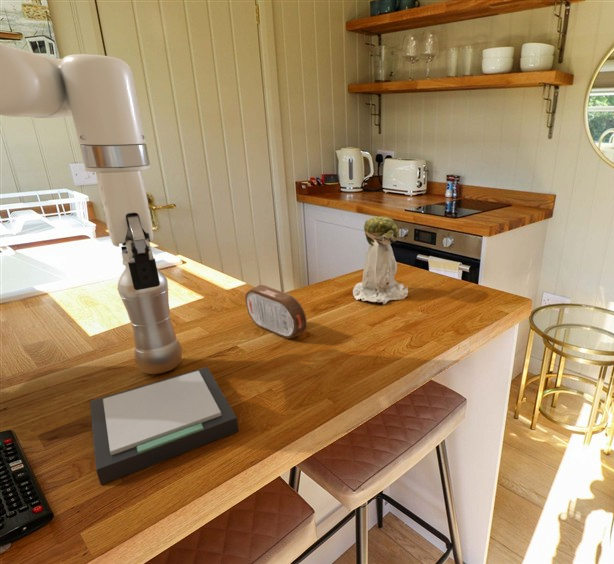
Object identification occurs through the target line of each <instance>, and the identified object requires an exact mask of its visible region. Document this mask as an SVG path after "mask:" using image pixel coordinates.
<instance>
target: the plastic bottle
mask: <svg viewBox="0 0 614 564" xmlns="http://www.w3.org/2000/svg"><path fill="white" fill-rule="evenodd" d="M133 255H134V254H133ZM121 257H122V265H123V266H125V265H126V266H125V269H124V270H123V271H122V273H121V274H120V277H119V279H118V281H117V287H116V288H117V292H118V294H119V296H120V299H121V302H122V303H123V306H124V308H125V311H126V312H127V313H126V314H127V316H128V319H129V321H130V325H131V329H132V336H133V344H134V351H133V352H134V362H135V363H136V365H137V367H138V370H139V371H141V372H142V373H145V374H148V375H159V374H163V373H166V372H170V371H171V370H174V369H175V368H176V367H178V366H179V364H180V363H181V361H182V359H183V347H182V345H181V343H180V340H179V338H178V337H177V333H176V330H175V327H174V325H173V321H172V316H171V309H170V303H169V301H170V300H169V284H168V283H169V282H168V279H167V277H166V275H165V274H164V272H163V271H161V269H159V268H158V267H157V272H158V277H159V281H160V285H159V286H157V287H152V288H146V289H141V290H135V289H134V287H133V282H132V278H131V273H130V269H129V265H128V262H130V259H129V255H128V251H127V249H126V250H123V251H122V250H121Z"/></svg>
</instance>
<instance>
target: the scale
mask: <svg viewBox="0 0 614 564" xmlns="http://www.w3.org/2000/svg"><path fill="white" fill-rule="evenodd" d="M89 405H90V406H89V408H90V418H91V429H92V440H93V450H94V451H93V453H94V463H95V471H96V474H97V478H98V481H99V485H100V486H103V485H105V484H108V483H110V482H112V481H114V480H119V479H120V478H123V477H125V476H128V475H131V474H133V473H136V472H139V471H141V470H144V469H146V468H149V467H151V466H154V465H157V464H159V463H162V462H163V461H166V460H170V459H172V458H175V457H177V456H179V455H182V454H184V453H187V452H190V451H192V450H194V449H198V448H199V447H202V446H205V445H207V444H210V443H212V442H215V441H218V440H220V439H223V438H226V437H228V436H230V435H232V434H235V433H238V432H239V423H238V418H237V415H236V414H235V412H234V410H233V409H232V406H231V405H230V403H229V401H228V399H227V397H226V396H225V395H224V393H223V391H222V389H221V388H220V386H219V384H218V382H217V380H216V379H215V377H214V375H213V374H212V372H211V370H210V369H209V366H205V367H201V368H198V369H194V370H191V371H188V372H184V373H180V374H177V375H174V376H170V377H167V378H164V379H163V378H162V379H161V380H157V381H153V382H150V383H146V384H143V385H140V386H137V387H133V388H130V389H125V390H122V391H120V392H116V393H111V394H108V395H106V396H102V397H98V398H96V399H92V400H89Z"/></svg>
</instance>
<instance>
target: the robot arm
mask: <svg viewBox="0 0 614 564" xmlns="http://www.w3.org/2000/svg"><path fill="white" fill-rule="evenodd" d="M0 116H3V117H8V118H9V117H10V118H11V117H12V118H36V119H37V118H38V119H54V118H56V119H57V118H64V117H65V118H66V117H72V120H73V124H74V128H75V133H76V137H77V140H78V144H79V149H80V154H81V157H82V162H83V165H84V169H85V170H84V171H85V172H90V173H95V175H96V182H97V188H98V192H99V198H100V203H101V205H102V210H103V215H104V219H105V223H106V227H107V231H108V236H109V239H110V241H111V244H112V245H113V246H114V247H117V248H118V247H121V252H122V251H123V250H126V249H127V251H128V255H129V259H130V262H128V265H129V269H130V273H131V278H132V282H133V287H134V289H135V290H141V289H146V288H152V287H157V286H159V285H160V281H159V277H158V272H157V268H158V267H157V263H156V258H155V257H154V255H153V251H152V247H151V242H152V241H154V231H153V223H152V217H151V212H150V206H149V201H148V195H147V191H146V190H147V189H146V184H145V181H144V176H143V172H142V171H148V170H151V163H150V158H149V153H148V148H147V147H148V146H147V143H146V137H145V132H144V126H143V121H142V116H141V110H140V105H139V100H138V95H137V89H136V83H135V79H134V75H133V71H132V69H131V67H130V65H129V64H128V63H127V62H126V61H124V59H120V58H118V57H114V56H109V55H103V54H88V53H75V54H74V53H73V54H69V55H65V56H64V57H63V58H59V57H52V56H47V55H42V54H40V53H36V52H32V51H30V50H27V49H23V48H19V47H16V46H11V45H7V44H4V43H2V42H0ZM120 244H121V245H122V246H120ZM133 254H134V255H133ZM124 266H125V267H126V265H124Z"/></svg>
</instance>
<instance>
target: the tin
mask: <svg viewBox="0 0 614 564" xmlns="http://www.w3.org/2000/svg"><path fill="white" fill-rule="evenodd" d="M244 299H245V305H246V310H247V313H248V315H249V317H250V319H251V320H252V321H253V323H254V324H256V326H257V327H259V328H261V329H264V330H266V331H268V332H270V333H273V334H275V335H277V336H279V337H282V338H283V339H287V340H290V339H293V338H295V337H297V336H299V335H302V334H303V333H304V332H305V331H306V328H307V316H306V313H305V310H304V308H303V307H302V305H301V303H300V302H299V301H298V300H297V299H296V297H294V296H293V295H292V294H289V293H287V292H284V291H282V290H278V289H275V288H273V287H270V286H268V285H266V284H258V285H257V286H255V287H253V288H251V289H249V290H247V292H245V296H244Z"/></svg>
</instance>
